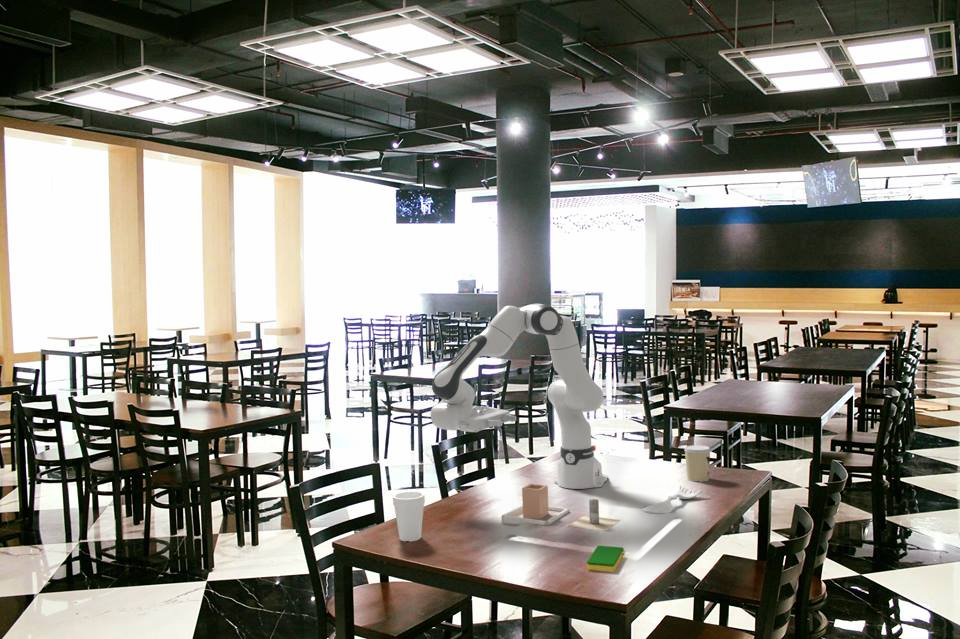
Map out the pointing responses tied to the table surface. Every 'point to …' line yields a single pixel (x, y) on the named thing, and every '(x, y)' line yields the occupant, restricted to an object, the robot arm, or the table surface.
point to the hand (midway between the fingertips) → (508, 421)
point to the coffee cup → (697, 462)
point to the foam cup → (409, 514)
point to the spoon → (666, 505)
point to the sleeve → (535, 501)
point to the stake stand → (594, 519)
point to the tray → (517, 518)
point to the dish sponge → (605, 558)
